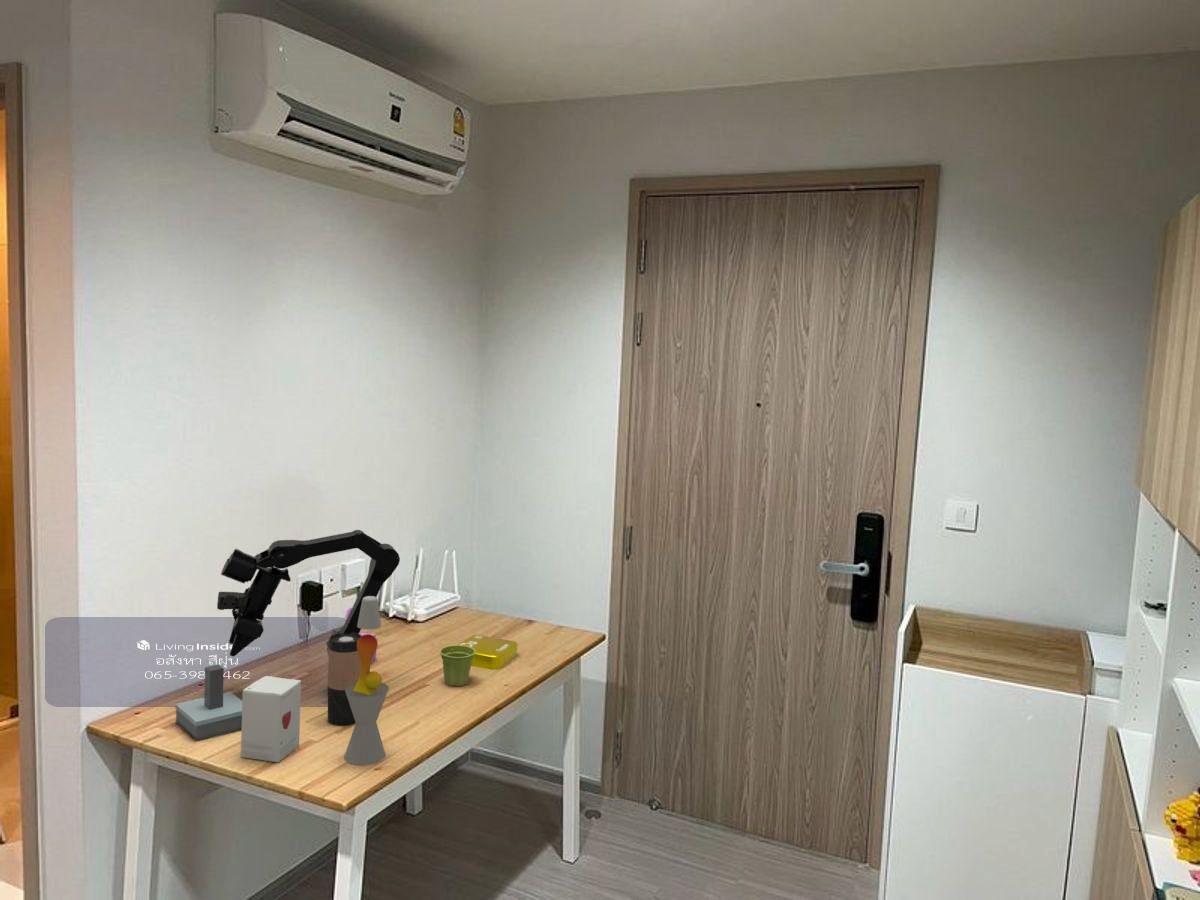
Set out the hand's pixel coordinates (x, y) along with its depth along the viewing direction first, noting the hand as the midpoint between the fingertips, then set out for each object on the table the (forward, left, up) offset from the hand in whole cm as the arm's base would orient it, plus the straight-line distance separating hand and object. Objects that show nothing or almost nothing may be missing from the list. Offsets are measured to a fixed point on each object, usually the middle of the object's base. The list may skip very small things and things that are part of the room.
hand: (231, 649), depth 214 cm
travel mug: (-29, +3, -14) cm, 32 cm away
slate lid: (-2, +12, -11) cm, 17 cm away
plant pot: (-49, -26, -14) cm, 57 cm away
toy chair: (-19, -35, -14) cm, 42 cm away
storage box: (-2, +12, -13) cm, 18 cm away
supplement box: (-20, +22, -14) cm, 33 cm away
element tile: (-53, -46, -14) cm, 71 cm away
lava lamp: (-40, +20, -14) cm, 47 cm away
